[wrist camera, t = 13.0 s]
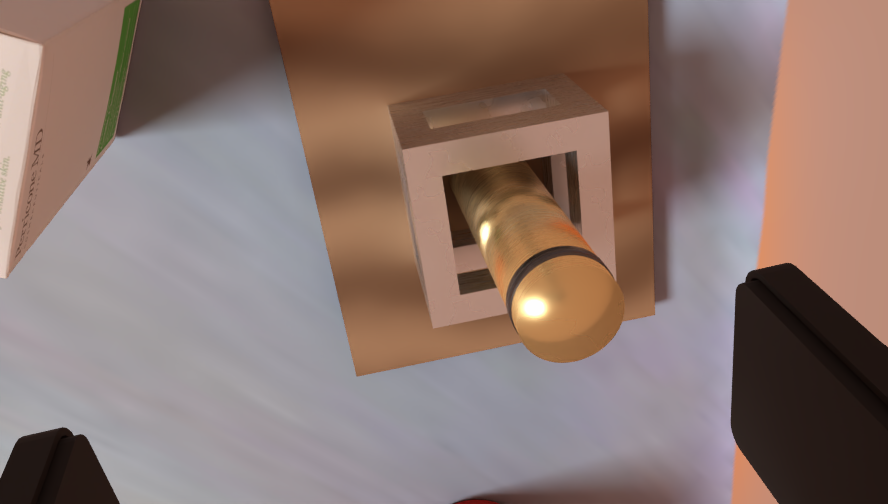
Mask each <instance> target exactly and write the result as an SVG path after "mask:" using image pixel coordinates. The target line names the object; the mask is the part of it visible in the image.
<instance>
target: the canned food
mask: <svg viewBox="0 0 888 504" xmlns="http://www.w3.org/2000/svg"><path fill="white" fill-rule="evenodd" d="M455 504H499V503H496V502H492V501H488V500H467V501H462V502H458V503H455Z"/></svg>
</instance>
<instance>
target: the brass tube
mask: <svg viewBox="0 0 888 504" xmlns="http://www.w3.org/2000/svg"><path fill="white" fill-rule="evenodd" d="M449 183H450V186H451V189H452V191H453V193H454V195H455V197H456V200H457V202H458V204H459V206H460V208H461V210H462V213H463V215H464V217H465V219H466V221H467V223H468V226H469V228H470V230H471V232H472V234H473V237H474V239H475V241H476V243H477V245H478V247H479V250H480V252H481V254H482V256H483V258H484V260H485V263H486V265H487V267H488V269H489V271H490V273H491V276H492V278H493V280H494V282H495V284H496V286H497V289H498V291H499V293H500V295H501V297H502V300H503V302H504V304H505V306H506V308H507V313H508V315H509V318H510V320H511V322H512V324H513V327H514V328H515V330H516V332H517V333H518V335H519V336H520V339H521V340H522V342H523V344H524V345H525V346H526V348H527V349H528V350H529V351H530V352H531V353H533V354H534V355H536V356H537V357H539V358H541V359H544V360H547V361H551V362H559V363H566V362H574V361H578V360H582V359H584V358H587V357H589V356H591V355H593V354H595V353H596V352H598V351H600V350H601V349H602V348H603V347H605V346H606V345H607V344H608V343H609V342H610V341H611V340H612V338H613V337H614V336H615V335H616V333H617V331H618V330H619V328H620V325H621V323H622V320H623V317H624V311H625V302H624V297H623V293H622V291H621V288H620V287H619V285H618V284H617V282H616V281H615V279H614V277H613V275H612V273H611V272H610V270H609V269H608V268H607V266H606V265H605V264H604V263H603V261H602V260H601V259H600V258H599V257H598V256H597V255H596V254H595V253H594V251H593V250H592V249H591V247H590V246H589V245H588V244H587V242H586V241H585V240H584V238H583V237H582V236H581V234H580V233H579V232H578V230H577V229H576V228H575V226H574V225H573V224H572V222H571V221H570V220H569V218H568V217H567V216H566V214H565V213H564V212H563V210H562V209H561V208H560V206H559V205H558V204H557V202H556V201H555V200H554V198H553V197H552V196H551V194H550V193H549V192H548V190H547V189H546V188H545V186H544V185H543V184H542V182H541V181H540V180H539V178H538V177H537V176H536V174H535V173H534V172H533V170H532V169H531V168H530V166H529V165H528V164H527V162H526V161H525V160H524V161H519V162H514V163H508V164H503V165H498V166H493V167H487V168H482V169H477V170H471V171H466V172H461V173H456V174H450V175H449Z"/></svg>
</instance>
